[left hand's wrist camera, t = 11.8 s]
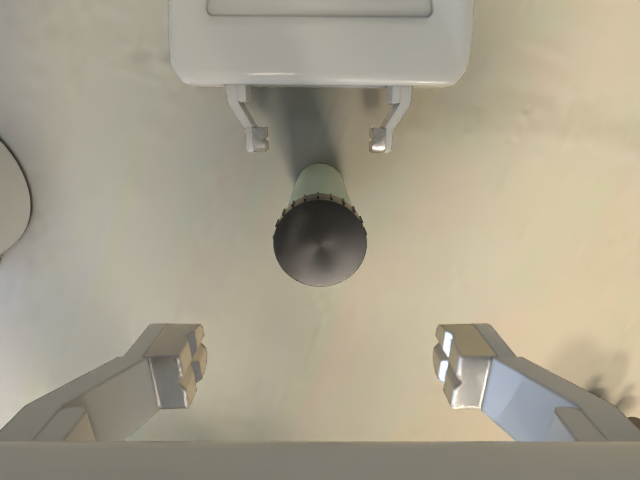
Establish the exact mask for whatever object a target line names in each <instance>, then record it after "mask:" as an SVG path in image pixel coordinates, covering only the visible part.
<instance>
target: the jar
mask: <svg viewBox="0 0 640 480" xmlns="http://www.w3.org/2000/svg"><path fill="white" fill-rule="evenodd" d="M317 192H319V193H324V194H330V193H332V195H334V196H337V197H339V198H341V199H342V198H344V199H345V201H346V202H347V203H349V204H350V205H351V202H350V199H349V196H348V193H347V190H346V187H345V184H344V181H343V179H342V176H341V175H340V173H339V172H338V171H337V170H336V169H335V168H334V167H332V166H330V165H327V164H322V163H318V164H313V165H310V166H308V167H306V168H305V169H304V170H303V171H302V172H301V173H300V175H299V176H298V179H297V181H296V184H295V187H294V190H293V193H292V196H291V199H290V202H289V205H290V204H291V203H292V201H293V200H294V201H295V200H297V199H299V198H301V197H303V196H304V195H305V194H306V195H310V194H316V193H317ZM289 205H288V206H289ZM351 206H352V205H351Z"/></svg>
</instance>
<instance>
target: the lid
mask: <svg viewBox="0 0 640 480" xmlns="http://www.w3.org/2000/svg"><path fill="white" fill-rule="evenodd" d="M362 223H363V220H362V218H361V216H359V215H358V213H357V212H356V210H355V207H354V206H351V205H350V204H349V203H347V202H346V201H345V199H344V198H342V199H341V198H339V197H337V196H334V195H332V193H330V194H324V193H319V192H317V193H316V194H310V195H306V194H305V195H304V196H303V197H301V198H299V199H297V200H295V201H294V200H293V201H292V203H291V204H290V205H289V206H288V207H287V208H286V209H284V210H283V212H282V215H281V217H280V220H279V219H278V220H277V223H276V226H275V227H276V230H275V233H274V236H273V239H274V240H273V245H274V252H275V256H276V259H277V261H278V263H279V265H280V266H281V267H282V269H283V270H284V271H285V272H286V273H287V274H288V275H289V276H290V277H292V278H293V279H295V280H296V281H298V282H300V283H303V284H306V285H310V286H330V285H334V284H337V283H340V282H342V281H344V280H345V279H347V278H348V277H350V276H351V275H352V274H353V273H354V272H355V271H356V270H357V269H358V268H359V266H360V265H361V263H362V261H363V259H364V256H365V253H366V248H367V239H366V235H367V233H366V230H365V228H364V227H363V224H362Z"/></svg>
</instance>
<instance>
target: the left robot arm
mask: <svg viewBox="0 0 640 480" xmlns="http://www.w3.org/2000/svg"><path fill="white" fill-rule="evenodd" d="M203 337H204V331H203V326H202V325H201V324H176V323H169V324H168V323H153V324H150V325H149V326H148V327H147V328H146V330H145V331H144V332H143V333H142V334H141V336H140V337H139V338H138V339H137V341H136V342H135V343H134V344H133V345H132V347H131V348H130V349H129V350H128V352H127V353H126V354H125V355H124V356H123V357H117V358H115V359H113V360H111V361H109V362H107V363H105V364H104V365H102V366H100V367H98V368H96V369H94V370H92V371H90V372H88V373H86V374H84V375H83V376H81V377H79V378H77V379H75V380H73V381H71V382H69V383H67V384H65V385H63V386H61V387H60V388H58V389H56V390H54V391H52V392H50V393H48V394H46V395H44V396H42V397H40V398H39V399H37V400H35V401H33V402H31V403H29V404H27V405H25V406H24V407H23V408H22V409H21V410H20V411H19V412H18V413H17V414H16V415H15V416H14V417H13V418H12V419H11V420H10V421H9V422H8V423H7V424H6V425H5V426H4V427H3V428H2V429H1V430H0V480H640V430H639V429H638V428H637V427H636V426H635V425H634V424H633V423H632V422H631V421H630V420H629V419H628V418H627V417H626V416H625V415H624V414H623V413H622V412H621V411H620V410H619V409H618V408H617V407H616V406H615V405H613V404H611V403H609V402H607V401H605V400H603V399H601V398H599V397H597V396H596V395H594V394H592V393H590V392H588V391H586V390H584V389H582V388H580V387H578V386H576V385H575V384H573V383H571V382H569V381H567V380H565V379H563V378H561V377H559V376H557V375H555V374H554V373H552V372H550V371H548V370H546V369H544V368H542V367H540V366H538V365H536V364H535V363H533V362H531V361H529V360H527V359H525V358H523V357H517V356H516V355H515V354H514V353H513V352H512V350H511V349H510V348H509V347H508V345H507V344H506V343H505V342H504V341H503V339H502V338H501V337H500V336H499V334H498V333H497V332H496V331H495V330H494V328H493V327H492V326H491V325H490V324H488V323H474V324H439V325H438V327H437V330H436V337H437V339H438V341H439V343H438V344H437V345H436V346H435V347H434V351H433V364H434V369H435V373H436V375H437V377H438V379H439V380H440V381H442V382H443V383H444V388H443V391H444V393H445V395H446V398H447V400H448V402H449V404H450V406H451V408H461V409H481V411H482V412H483V413H485V414H486V415H487V416H488V417H489V418H490V419H491V420H493V421H494V422H495V423H496V424H497V425H498V426H499V427H501V428H502V429H503V430H504V431H505V432H506V433H507V434H509V435H510V436H511V437H512V438H513V439H514V440H515V441H457V442H332V441H151V442H129V441H125V440H126V439H127V438H128V437H129V436H130V435H132V434H133V433H134V432H135V431H136V430H137V429H138V428H140V427H141V426H142V425H143V424H144V423H145V422H146V421H148V420H149V419H150V418H151V417H152V416H153V415H154V414H156V413H157V412H158V411H159V409H178V408H189V406H190V404H191V402H192V400H193V398H194V395H195V393H196V391H197V388H196V383H197V382H198V381H200V380H201V379H202V377H203V375H204V373H205V369H206V364H207V351H206V347H205V346H204V345H203V344H202V343H201V341H202V339H203Z"/></svg>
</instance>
